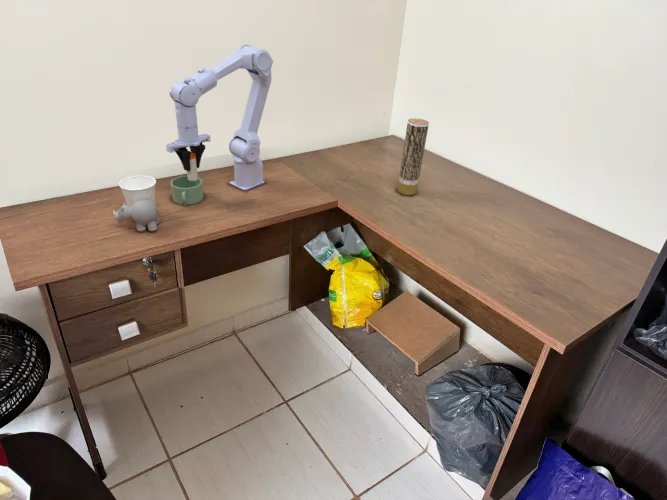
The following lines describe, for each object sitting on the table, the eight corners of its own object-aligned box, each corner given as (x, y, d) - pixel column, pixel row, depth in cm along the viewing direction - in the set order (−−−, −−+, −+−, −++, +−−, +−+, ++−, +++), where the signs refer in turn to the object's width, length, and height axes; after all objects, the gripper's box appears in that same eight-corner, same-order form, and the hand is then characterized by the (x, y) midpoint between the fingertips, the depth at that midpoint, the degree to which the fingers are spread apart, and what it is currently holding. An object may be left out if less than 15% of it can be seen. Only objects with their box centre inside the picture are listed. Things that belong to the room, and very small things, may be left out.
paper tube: (416, 188, 171) (428, 119, 157) (416, 197, 165) (429, 126, 152) (397, 186, 171) (407, 117, 158) (397, 195, 165) (408, 124, 152)
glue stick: (193, 176, 151) (191, 151, 147) (199, 178, 150) (197, 154, 145) (185, 178, 149) (183, 154, 145) (192, 181, 148) (189, 157, 143)
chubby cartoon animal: (120, 221, 139) (114, 194, 134) (163, 221, 140) (159, 195, 136) (112, 233, 133) (106, 206, 128) (157, 234, 134) (153, 207, 129)
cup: (117, 219, 139) (110, 185, 133) (141, 206, 147) (135, 172, 141) (145, 227, 136) (139, 192, 131) (168, 213, 144) (163, 179, 138)
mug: (175, 190, 157) (173, 175, 154) (205, 191, 158) (204, 175, 155) (168, 208, 147) (166, 192, 144) (201, 208, 148) (199, 192, 145)
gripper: (175, 134, 133) (180, 179, 141) (215, 123, 143) (218, 166, 151) (159, 128, 137) (165, 172, 144) (200, 117, 147) (204, 159, 154)
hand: (191, 168), depth 148 cm, fingers closed on glue stick, 3 cm apart
